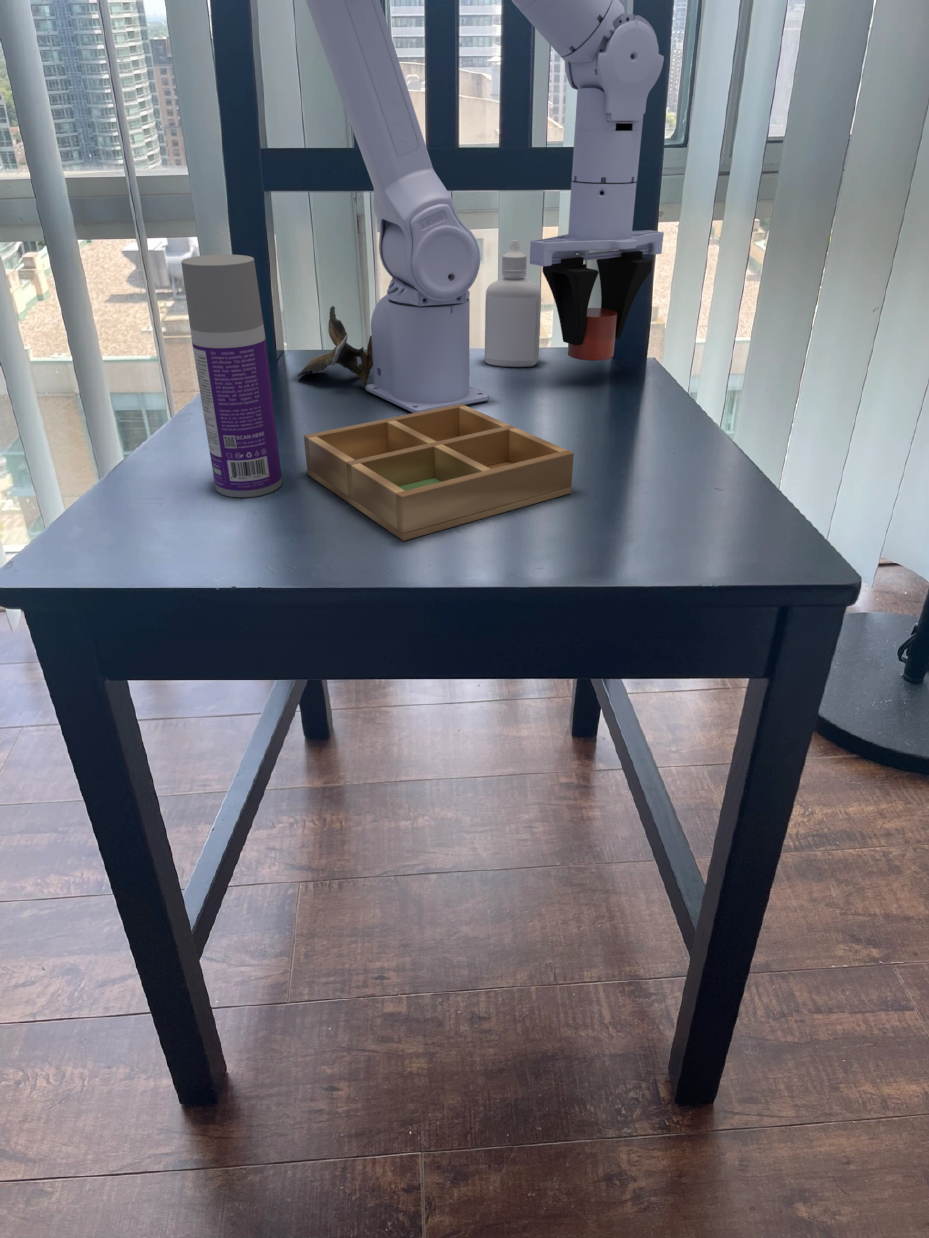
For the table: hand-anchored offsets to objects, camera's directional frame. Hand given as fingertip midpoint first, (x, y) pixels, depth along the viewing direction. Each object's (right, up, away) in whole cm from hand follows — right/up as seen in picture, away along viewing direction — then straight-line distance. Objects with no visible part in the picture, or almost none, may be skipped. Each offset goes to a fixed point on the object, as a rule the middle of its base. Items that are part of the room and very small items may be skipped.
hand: (591, 340), depth 82 cm
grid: (-14, -17, -21) cm, 31 cm away
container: (-28, -17, -21) cm, 39 cm away
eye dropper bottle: (-7, 0, +8) cm, 11 cm away
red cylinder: (0, -1, +1) cm, 1 cm away
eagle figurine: (-24, -3, +2) cm, 25 cm away
